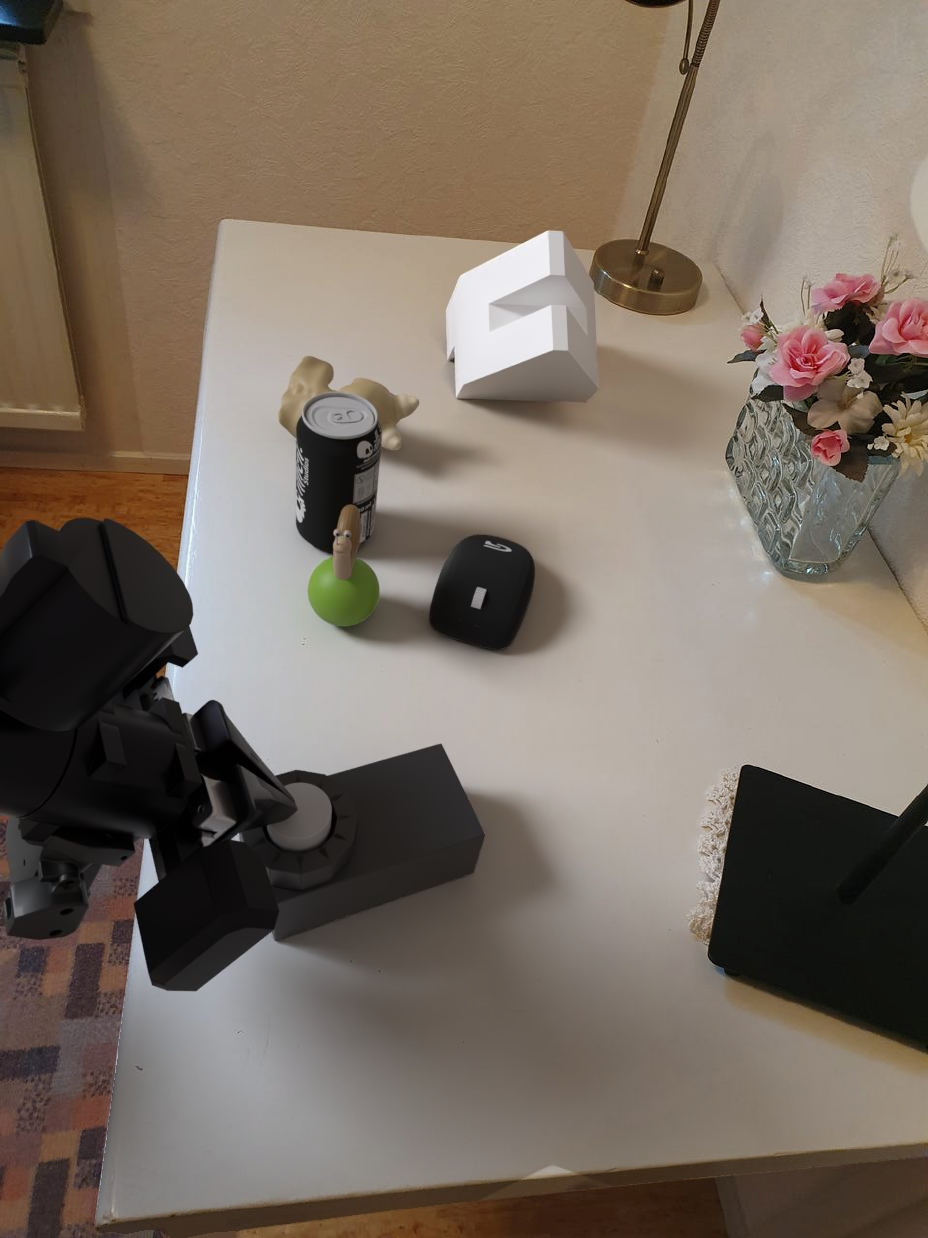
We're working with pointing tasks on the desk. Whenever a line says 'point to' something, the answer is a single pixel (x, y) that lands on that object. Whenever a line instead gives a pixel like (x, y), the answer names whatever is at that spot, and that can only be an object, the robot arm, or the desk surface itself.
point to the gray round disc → (303, 821)
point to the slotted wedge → (525, 325)
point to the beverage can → (336, 465)
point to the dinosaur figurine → (319, 374)
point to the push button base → (374, 840)
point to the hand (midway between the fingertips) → (290, 809)
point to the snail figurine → (344, 577)
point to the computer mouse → (483, 591)
